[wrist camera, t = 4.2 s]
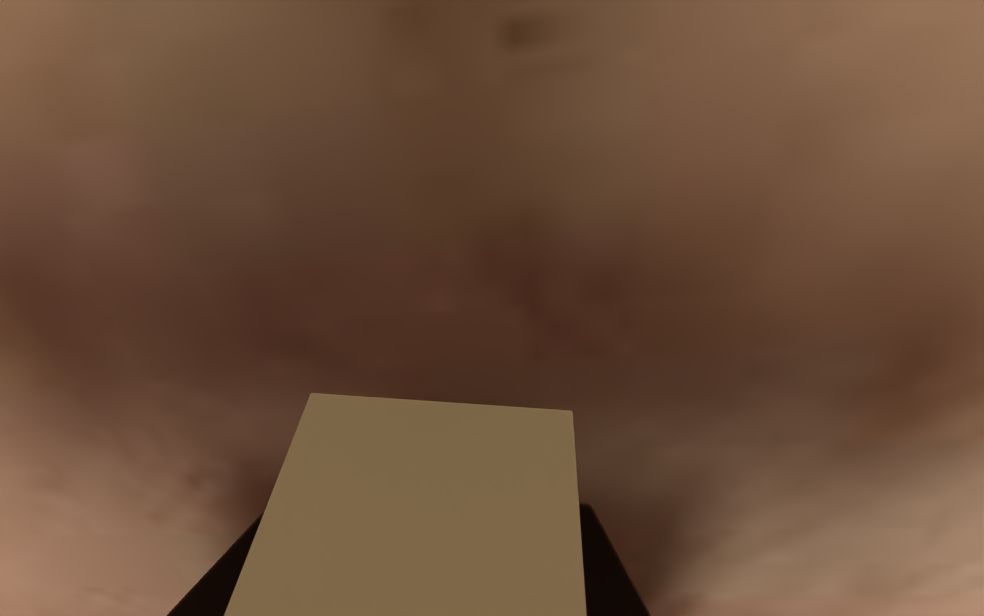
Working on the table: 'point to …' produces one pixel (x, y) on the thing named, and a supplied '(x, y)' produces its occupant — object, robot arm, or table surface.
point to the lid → (420, 514)
